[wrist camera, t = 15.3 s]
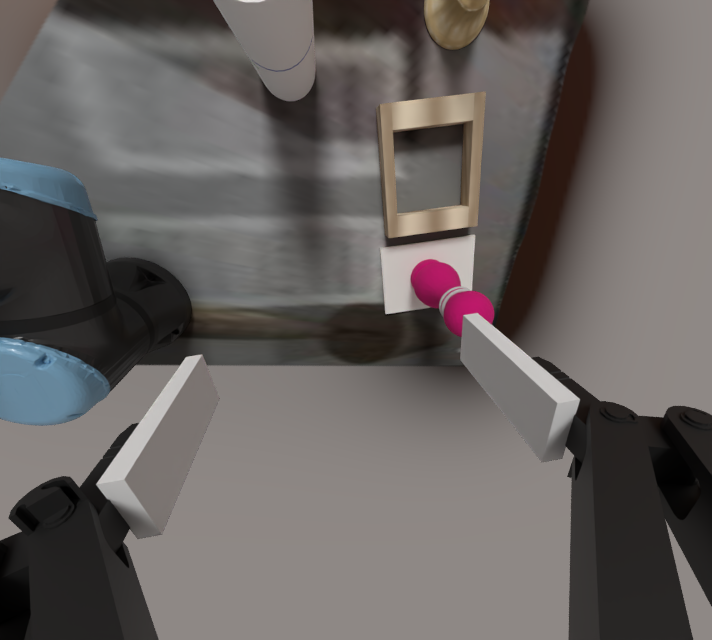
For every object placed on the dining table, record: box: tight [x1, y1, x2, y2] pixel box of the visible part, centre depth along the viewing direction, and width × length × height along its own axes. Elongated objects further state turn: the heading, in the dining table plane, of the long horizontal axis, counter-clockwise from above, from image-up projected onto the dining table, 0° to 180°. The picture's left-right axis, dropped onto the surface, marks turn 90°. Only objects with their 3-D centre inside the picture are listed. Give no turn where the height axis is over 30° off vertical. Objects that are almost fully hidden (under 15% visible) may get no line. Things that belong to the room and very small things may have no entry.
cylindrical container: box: [213, 0, 316, 101], centre depth 27 cm, size 7×7×25 cm
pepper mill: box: [410, 259, 494, 337], centre depth 43 cm, size 7×7×20 cm
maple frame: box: [376, 92, 486, 238], centre depth 44 cm, size 14×17×3 cm
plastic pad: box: [380, 235, 475, 314], centre depth 52 cm, size 16×12×1 cm
